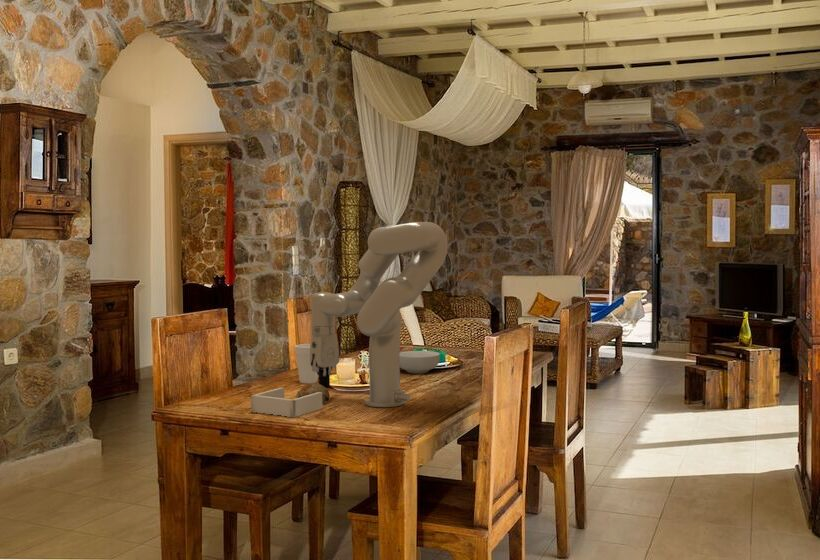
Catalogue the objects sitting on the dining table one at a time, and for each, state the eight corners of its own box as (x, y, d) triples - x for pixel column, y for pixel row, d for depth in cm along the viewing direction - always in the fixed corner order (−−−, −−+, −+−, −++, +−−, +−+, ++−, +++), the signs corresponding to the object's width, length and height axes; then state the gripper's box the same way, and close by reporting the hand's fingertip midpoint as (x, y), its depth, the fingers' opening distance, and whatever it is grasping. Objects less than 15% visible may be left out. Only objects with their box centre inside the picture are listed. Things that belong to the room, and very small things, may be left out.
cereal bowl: (448, 371, 318) (448, 352, 317) (420, 377, 305) (420, 358, 305) (415, 366, 329) (415, 348, 329) (386, 372, 317) (386, 353, 316)
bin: (322, 408, 255) (322, 392, 254) (293, 417, 243) (292, 400, 242) (281, 403, 263) (281, 387, 263) (251, 411, 251) (251, 395, 251)
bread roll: (318, 417, 259) (328, 395, 258) (289, 402, 260) (299, 380, 259) (327, 410, 268) (337, 388, 267) (299, 396, 270) (309, 374, 269)
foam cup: (318, 378, 305) (318, 343, 304) (324, 383, 296) (323, 346, 295) (293, 380, 302) (292, 344, 301) (297, 385, 293) (297, 348, 292)
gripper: (318, 334, 259) (319, 393, 260) (346, 329, 272) (347, 385, 273) (299, 333, 263) (300, 390, 264) (328, 327, 276) (329, 382, 277)
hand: (324, 387), depth 269 cm, fingers closed
